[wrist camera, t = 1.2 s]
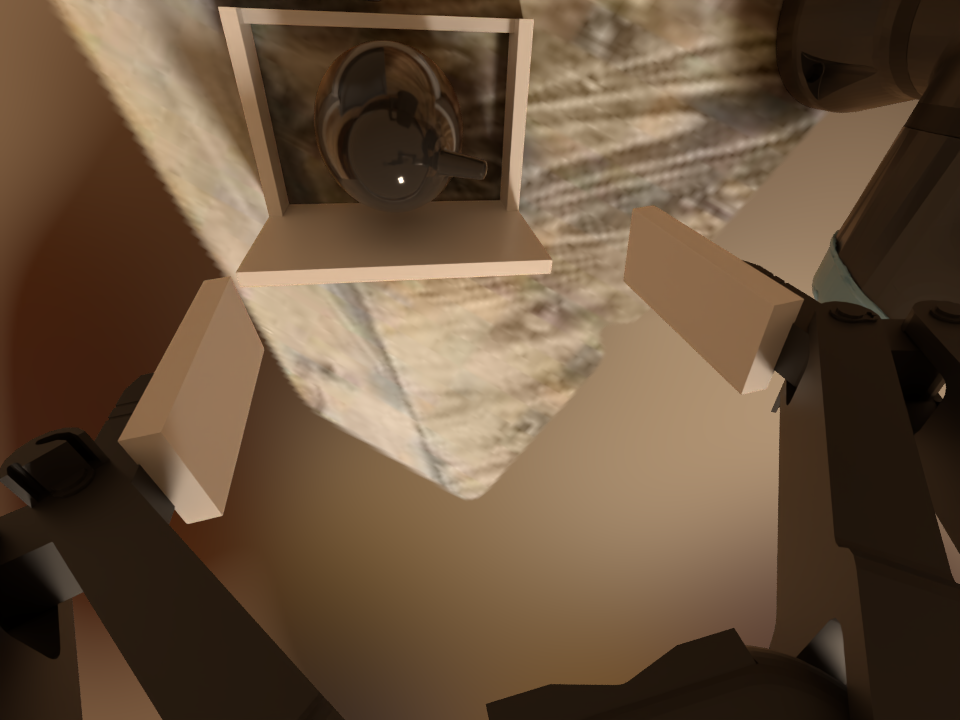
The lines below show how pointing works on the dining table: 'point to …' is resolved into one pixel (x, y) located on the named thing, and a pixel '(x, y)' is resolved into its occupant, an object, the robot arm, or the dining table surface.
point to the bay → (365, 231)
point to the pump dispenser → (391, 127)
